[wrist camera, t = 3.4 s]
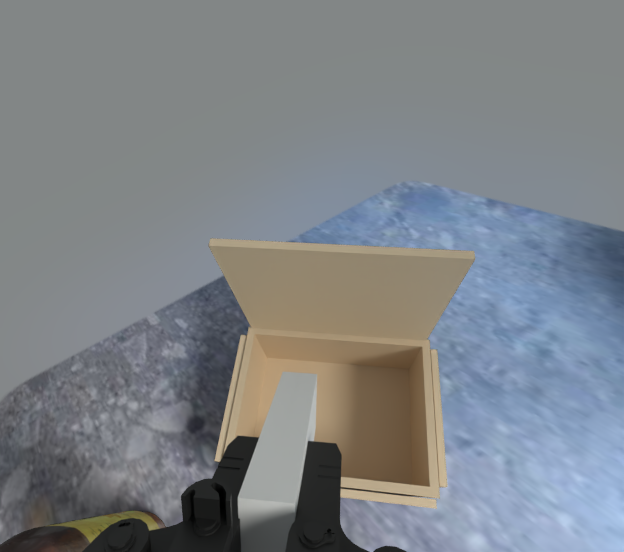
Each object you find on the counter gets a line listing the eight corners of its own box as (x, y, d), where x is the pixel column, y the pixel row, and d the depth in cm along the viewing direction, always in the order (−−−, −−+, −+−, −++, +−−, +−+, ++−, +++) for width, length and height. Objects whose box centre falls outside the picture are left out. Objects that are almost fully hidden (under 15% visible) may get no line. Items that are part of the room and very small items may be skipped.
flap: (425, 333, 30) (473, 249, 19) (426, 340, 29) (475, 259, 19) (252, 321, 31) (210, 236, 21) (251, 327, 31) (208, 245, 20)
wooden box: (420, 366, 35) (437, 340, 29) (427, 506, 30) (450, 510, 24) (257, 352, 37) (242, 326, 31) (233, 483, 31) (209, 481, 25)
